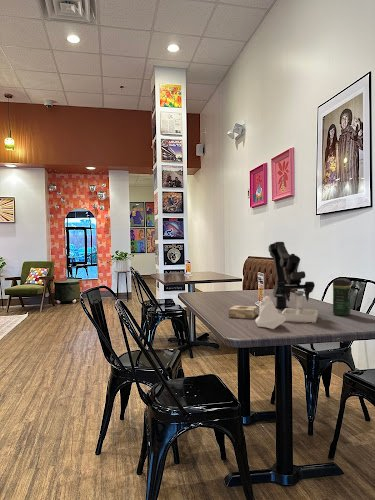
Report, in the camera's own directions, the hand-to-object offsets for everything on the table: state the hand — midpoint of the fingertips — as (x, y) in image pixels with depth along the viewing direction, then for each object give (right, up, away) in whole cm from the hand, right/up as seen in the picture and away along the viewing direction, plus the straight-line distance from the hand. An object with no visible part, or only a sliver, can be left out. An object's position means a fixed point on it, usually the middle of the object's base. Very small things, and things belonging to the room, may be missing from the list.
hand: (298, 300), depth 181 cm
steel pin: (0, -8, -1) cm, 8 cm away
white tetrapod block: (-18, -9, -16) cm, 25 cm away
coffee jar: (+25, -8, +8) cm, 27 cm away
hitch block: (-26, -9, +9) cm, 29 cm away
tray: (0, -9, -1) cm, 9 cm away
